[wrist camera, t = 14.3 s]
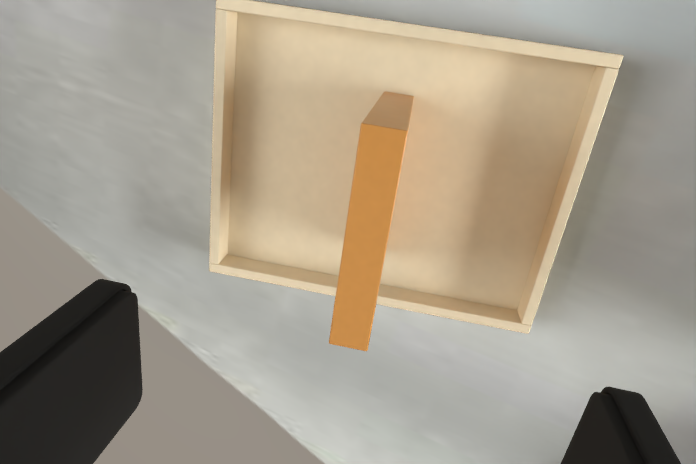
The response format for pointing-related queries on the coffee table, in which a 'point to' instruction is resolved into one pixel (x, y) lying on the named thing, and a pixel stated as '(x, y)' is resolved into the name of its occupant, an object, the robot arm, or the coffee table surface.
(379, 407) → the coffee table surface
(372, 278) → the toast
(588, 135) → the tray
